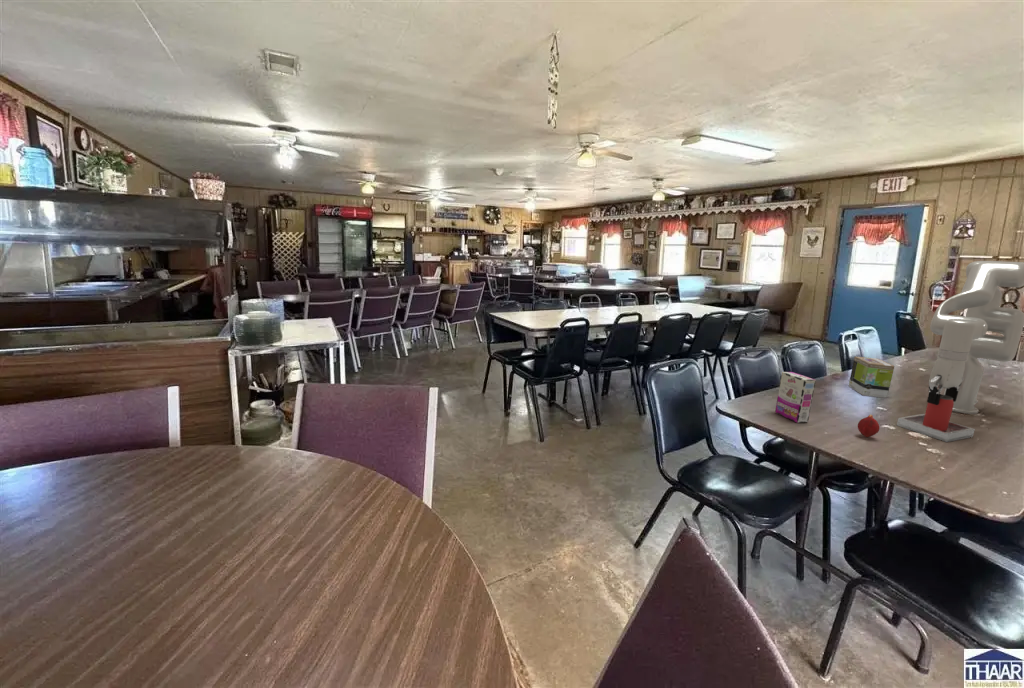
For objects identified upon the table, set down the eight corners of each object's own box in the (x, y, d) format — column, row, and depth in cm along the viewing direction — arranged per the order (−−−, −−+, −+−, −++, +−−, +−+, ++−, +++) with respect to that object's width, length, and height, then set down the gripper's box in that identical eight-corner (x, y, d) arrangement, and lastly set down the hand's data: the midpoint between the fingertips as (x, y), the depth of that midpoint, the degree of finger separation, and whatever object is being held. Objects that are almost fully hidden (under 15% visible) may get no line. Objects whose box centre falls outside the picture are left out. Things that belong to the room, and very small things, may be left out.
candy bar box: (809, 422, 167) (817, 379, 163) (797, 423, 166) (805, 380, 162) (785, 411, 178) (792, 371, 174) (774, 412, 177) (781, 371, 173)
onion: (877, 442, 152) (883, 419, 150) (856, 437, 155) (861, 415, 153) (875, 436, 157) (880, 414, 155) (855, 432, 160) (859, 410, 158)
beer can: (947, 433, 159) (956, 400, 156) (922, 428, 163) (930, 396, 160) (946, 428, 164) (954, 396, 161) (921, 423, 168) (929, 391, 165)
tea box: (888, 398, 199) (895, 365, 196) (861, 395, 201) (868, 363, 198) (872, 388, 213) (879, 357, 210) (847, 386, 216) (853, 355, 212)
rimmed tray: (922, 421, 173) (924, 413, 172) (972, 437, 159) (974, 429, 158) (896, 425, 167) (898, 417, 167) (946, 442, 154) (948, 433, 153)
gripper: (954, 350, 164) (943, 395, 168) (924, 354, 158) (913, 401, 162) (981, 355, 157) (969, 402, 161) (950, 360, 151) (938, 408, 155)
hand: (941, 402), depth 161 cm, fingers open, 9 cm apart
